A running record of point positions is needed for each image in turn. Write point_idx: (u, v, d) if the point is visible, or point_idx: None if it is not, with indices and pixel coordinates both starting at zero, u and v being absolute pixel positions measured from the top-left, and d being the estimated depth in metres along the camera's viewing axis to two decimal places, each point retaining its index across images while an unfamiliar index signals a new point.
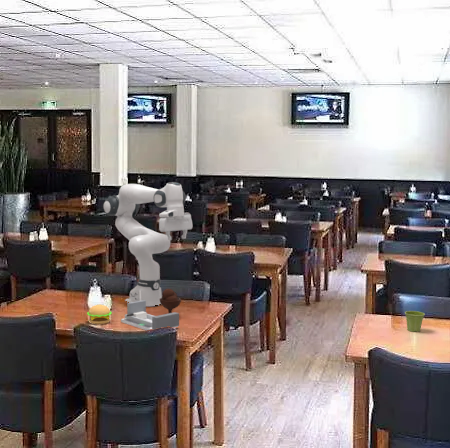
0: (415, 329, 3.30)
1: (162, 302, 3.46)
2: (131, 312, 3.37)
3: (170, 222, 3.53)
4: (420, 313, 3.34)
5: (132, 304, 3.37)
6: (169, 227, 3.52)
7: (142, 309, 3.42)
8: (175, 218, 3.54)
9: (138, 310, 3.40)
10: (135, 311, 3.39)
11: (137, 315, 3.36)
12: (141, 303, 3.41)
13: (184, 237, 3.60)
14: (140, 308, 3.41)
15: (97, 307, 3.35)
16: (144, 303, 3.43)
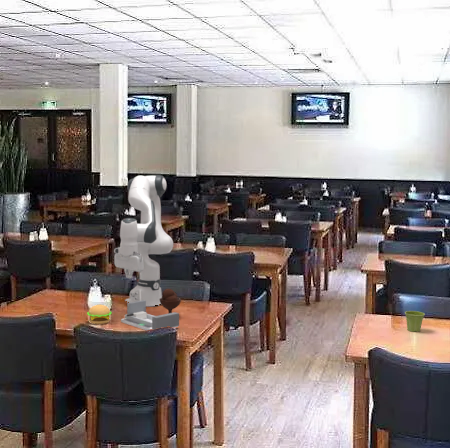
0: (415, 329, 3.30)
1: (162, 302, 3.46)
2: (131, 312, 3.37)
3: (120, 258, 3.45)
4: (420, 313, 3.34)
5: (132, 304, 3.37)
6: (118, 263, 3.46)
7: (142, 309, 3.42)
8: (122, 256, 3.42)
9: (138, 310, 3.40)
10: (135, 311, 3.39)
11: (137, 315, 3.36)
12: (141, 303, 3.41)
13: (128, 277, 3.42)
14: (140, 308, 3.41)
15: (97, 307, 3.35)
16: (144, 303, 3.43)
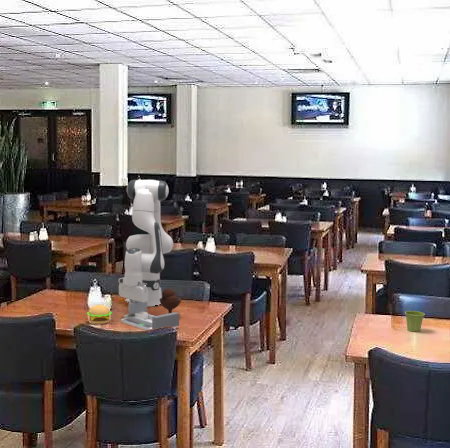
0: (415, 329, 3.30)
1: (162, 302, 3.46)
2: (132, 312, 3.36)
3: (125, 288, 3.44)
4: (420, 313, 3.34)
5: (133, 304, 3.36)
6: (123, 293, 3.45)
7: (143, 309, 3.41)
8: (127, 286, 3.41)
9: (139, 310, 3.39)
10: (136, 311, 3.38)
11: (138, 315, 3.35)
12: (142, 303, 3.40)
13: None
14: (141, 308, 3.40)
15: (97, 307, 3.35)
16: (146, 304, 3.42)
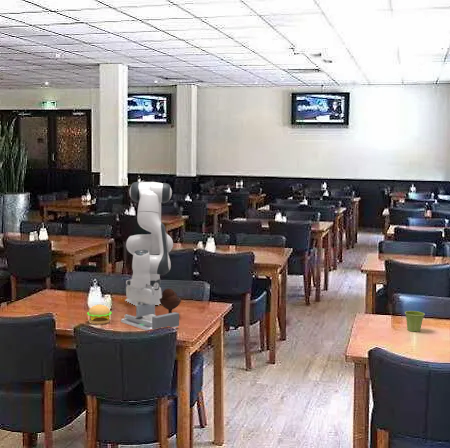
0: (415, 329, 3.30)
1: (162, 302, 3.46)
2: (140, 315, 3.32)
3: (132, 290, 3.39)
4: (420, 313, 3.34)
5: (141, 307, 3.32)
6: (130, 295, 3.40)
7: (151, 311, 3.36)
8: (134, 288, 3.36)
9: (147, 313, 3.35)
10: (144, 314, 3.34)
11: (146, 318, 3.31)
12: (150, 306, 3.36)
13: None
14: (149, 311, 3.36)
15: (97, 307, 3.35)
16: (154, 306, 3.37)
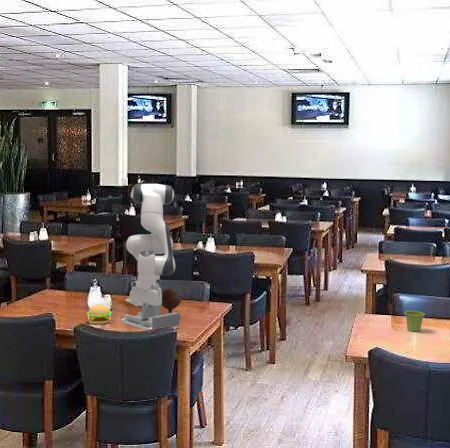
0: (415, 329, 3.30)
1: (162, 302, 3.46)
2: (146, 316, 3.29)
3: (137, 292, 3.36)
4: (420, 313, 3.34)
5: (147, 308, 3.29)
6: (135, 297, 3.37)
7: (156, 313, 3.33)
8: (140, 289, 3.33)
9: (153, 314, 3.32)
10: (150, 315, 3.31)
11: None
12: (156, 307, 3.33)
13: None
14: (155, 312, 3.33)
15: (97, 307, 3.35)
16: (159, 308, 3.34)
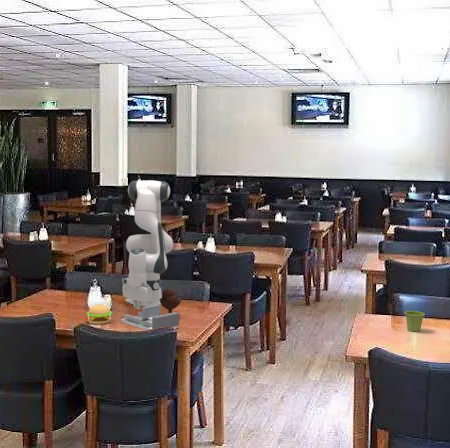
0: (415, 329, 3.30)
1: (162, 302, 3.46)
2: (146, 317, 3.29)
3: (128, 289, 3.42)
4: (420, 313, 3.34)
5: (147, 308, 3.29)
6: (126, 294, 3.43)
7: (157, 313, 3.33)
8: (131, 286, 3.39)
9: (153, 314, 3.32)
10: (150, 316, 3.30)
11: None
12: (156, 307, 3.33)
13: (136, 307, 3.39)
14: (155, 312, 3.32)
15: (97, 307, 3.35)
16: (159, 308, 3.34)
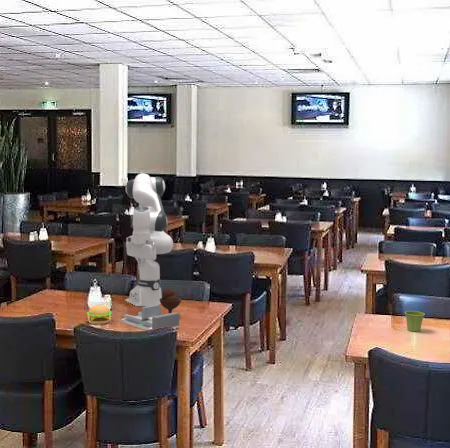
0: (415, 329, 3.30)
1: (162, 302, 3.46)
2: (146, 317, 3.29)
3: (132, 247, 3.43)
4: (420, 313, 3.34)
5: (147, 308, 3.29)
6: (130, 252, 3.45)
7: (157, 313, 3.33)
8: (135, 244, 3.41)
9: (153, 314, 3.32)
10: (150, 316, 3.30)
11: None
12: (156, 307, 3.33)
13: (140, 265, 3.41)
14: (155, 312, 3.32)
15: (97, 307, 3.35)
16: (159, 308, 3.34)
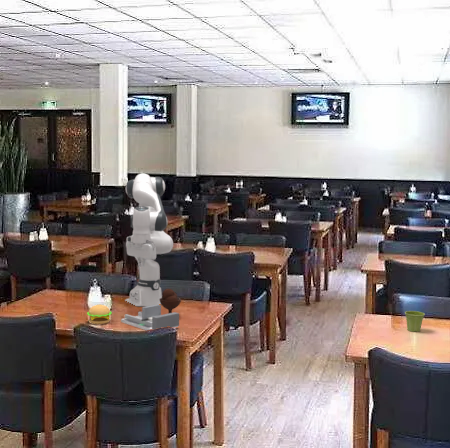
0: (415, 329, 3.30)
1: (162, 302, 3.46)
2: (146, 317, 3.29)
3: (132, 247, 3.43)
4: (420, 313, 3.34)
5: (147, 308, 3.29)
6: (130, 252, 3.45)
7: (157, 313, 3.33)
8: (135, 244, 3.41)
9: (153, 314, 3.32)
10: (150, 316, 3.30)
11: None
12: (156, 307, 3.33)
13: (140, 265, 3.41)
14: (155, 312, 3.32)
15: (97, 307, 3.35)
16: (159, 308, 3.34)
